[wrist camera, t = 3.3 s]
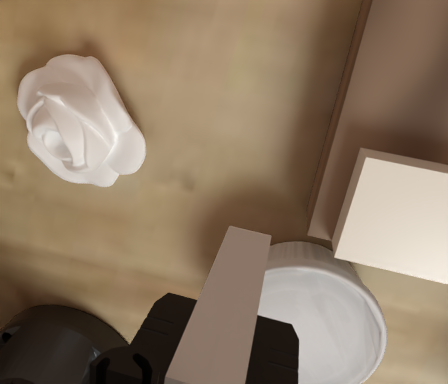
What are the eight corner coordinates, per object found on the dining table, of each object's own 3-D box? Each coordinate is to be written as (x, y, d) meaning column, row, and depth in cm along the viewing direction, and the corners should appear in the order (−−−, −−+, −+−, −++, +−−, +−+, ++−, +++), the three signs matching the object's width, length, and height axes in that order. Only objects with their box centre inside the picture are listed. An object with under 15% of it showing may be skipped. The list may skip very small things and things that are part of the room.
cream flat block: (331, 241, 23) (334, 257, 21) (360, 147, 21) (366, 157, 19) (485, 276, 22) (502, 297, 20) (533, 182, 20) (557, 195, 18)
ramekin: (405, 282, 28) (428, 331, 23) (313, 369, 32) (315, 426, 27) (279, 199, 27) (274, 231, 22) (203, 299, 32) (185, 344, 27)
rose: (147, 90, 22) (112, 227, 26) (172, 83, 26) (138, 203, 30) (-7, 28, 22) (-20, 172, 26) (41, 31, 26) (24, 155, 30)
